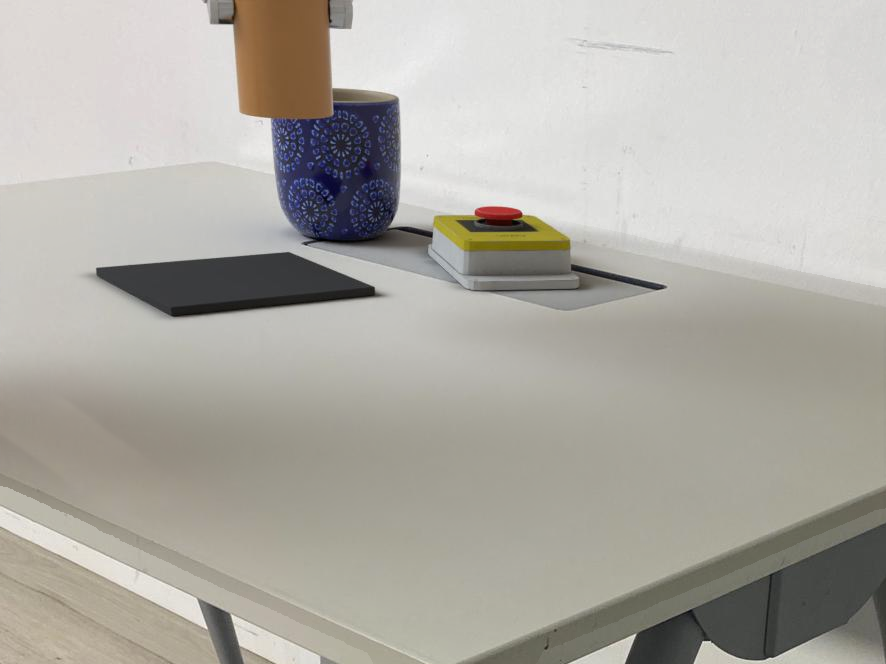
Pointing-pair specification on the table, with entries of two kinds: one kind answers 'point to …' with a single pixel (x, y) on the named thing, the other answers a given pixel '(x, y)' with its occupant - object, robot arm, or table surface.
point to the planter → (341, 167)
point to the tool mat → (232, 282)
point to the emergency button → (502, 251)
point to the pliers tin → (283, 58)
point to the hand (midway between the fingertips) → (283, 19)
